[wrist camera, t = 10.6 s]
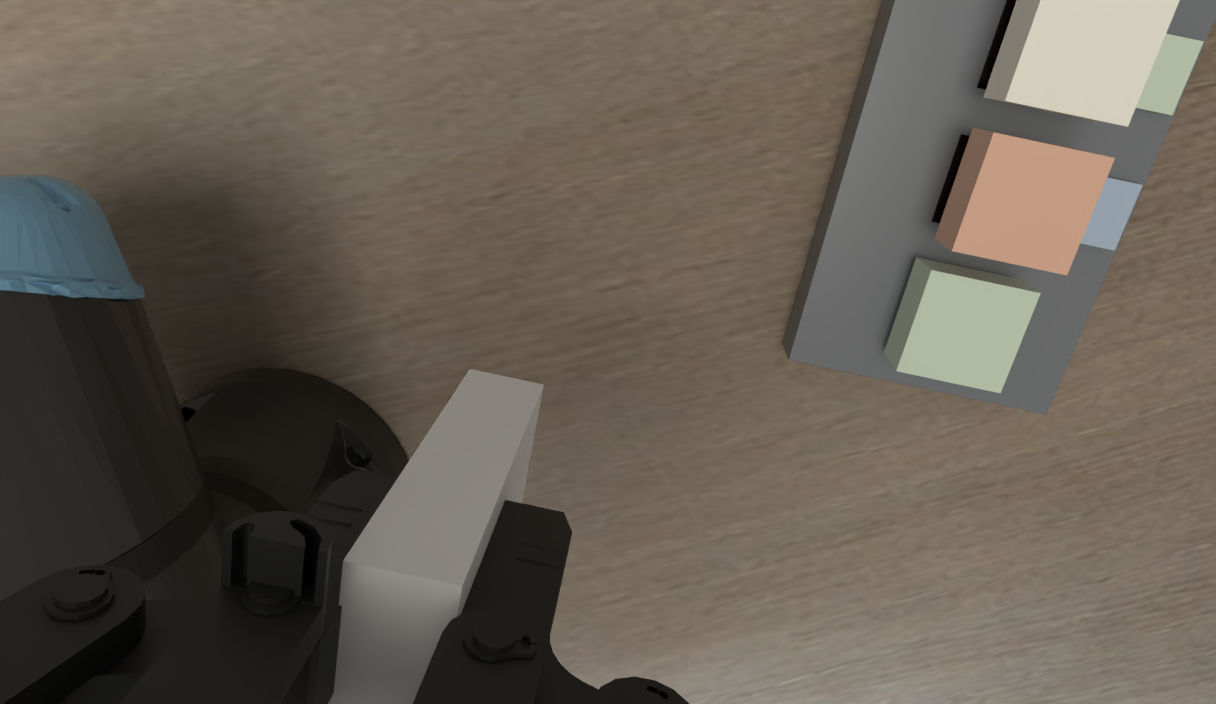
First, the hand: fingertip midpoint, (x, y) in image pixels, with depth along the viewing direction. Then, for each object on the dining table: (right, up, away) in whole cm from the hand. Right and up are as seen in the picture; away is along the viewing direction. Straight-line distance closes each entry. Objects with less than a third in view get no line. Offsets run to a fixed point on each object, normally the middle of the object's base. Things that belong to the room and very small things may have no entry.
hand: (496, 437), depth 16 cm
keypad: (+20, +13, +22) cm, 32 cm away
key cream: (+21, +15, +19) cm, 31 cm away
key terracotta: (+19, +9, +21) cm, 30 cm away
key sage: (+18, +4, +24) cm, 31 cm away
